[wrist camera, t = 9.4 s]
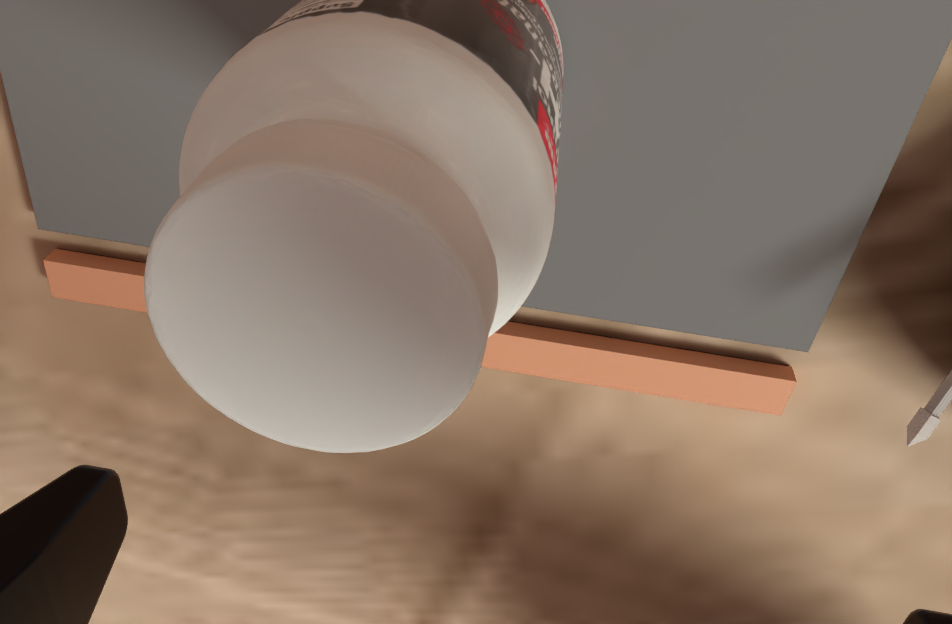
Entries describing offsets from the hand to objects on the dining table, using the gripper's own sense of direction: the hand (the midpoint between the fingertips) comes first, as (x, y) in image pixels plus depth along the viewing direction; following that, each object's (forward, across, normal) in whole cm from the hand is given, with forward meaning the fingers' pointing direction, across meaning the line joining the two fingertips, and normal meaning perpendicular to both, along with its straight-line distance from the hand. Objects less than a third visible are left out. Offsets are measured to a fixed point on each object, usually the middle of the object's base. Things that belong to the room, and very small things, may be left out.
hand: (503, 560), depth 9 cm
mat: (+12, +3, 0) cm, 12 cm away
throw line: (+12, +3, +6) cm, 13 cm away
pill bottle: (+11, +3, -2) cm, 12 cm away
